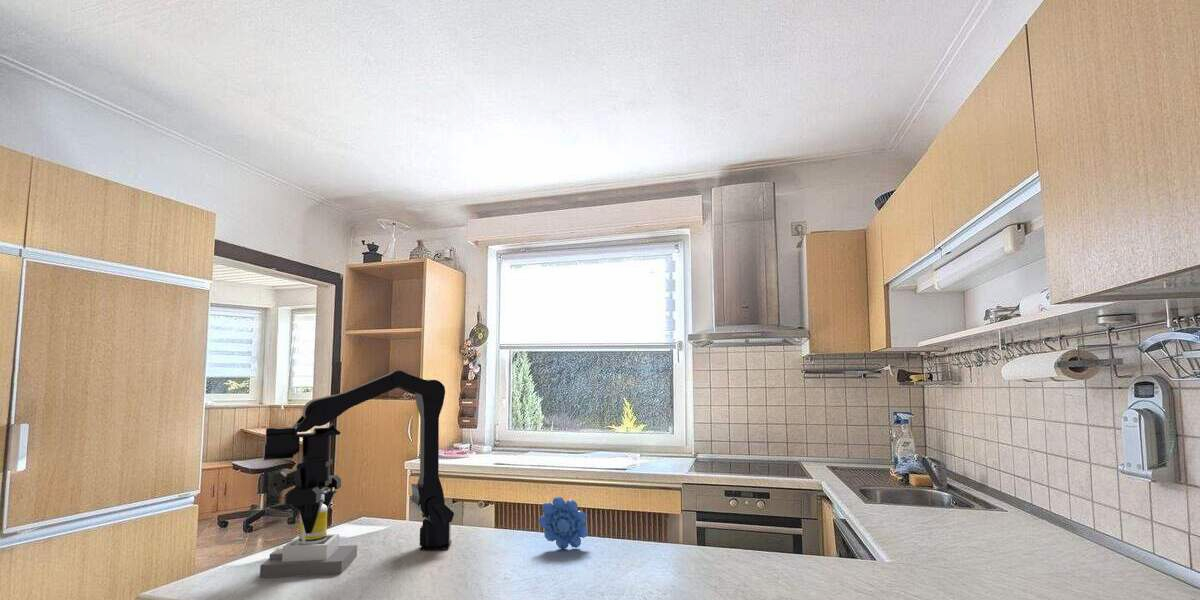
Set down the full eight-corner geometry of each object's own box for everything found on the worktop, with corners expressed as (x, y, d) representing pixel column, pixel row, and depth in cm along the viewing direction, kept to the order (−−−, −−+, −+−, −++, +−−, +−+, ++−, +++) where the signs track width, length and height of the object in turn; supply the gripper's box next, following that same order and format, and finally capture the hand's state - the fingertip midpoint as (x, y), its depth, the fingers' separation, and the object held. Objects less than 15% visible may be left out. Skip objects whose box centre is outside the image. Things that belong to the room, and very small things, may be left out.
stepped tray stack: (356, 556, 137) (357, 531, 138) (341, 573, 125) (342, 546, 126) (282, 560, 135) (283, 534, 136) (259, 577, 123) (261, 550, 124)
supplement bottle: (331, 539, 133) (333, 493, 134) (312, 546, 128) (314, 498, 129) (312, 537, 134) (314, 492, 136) (293, 544, 129) (294, 497, 130)
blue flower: (537, 555, 137) (537, 500, 138) (539, 546, 144) (539, 494, 145) (588, 554, 137) (588, 499, 139) (588, 545, 144) (587, 493, 146)
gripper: (293, 452, 141) (290, 521, 139) (259, 464, 123) (255, 543, 121) (342, 450, 143) (340, 518, 141) (316, 462, 124) (313, 540, 122)
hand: (313, 529), depth 131 cm, fingers closed on supplement bottle, 5 cm apart
